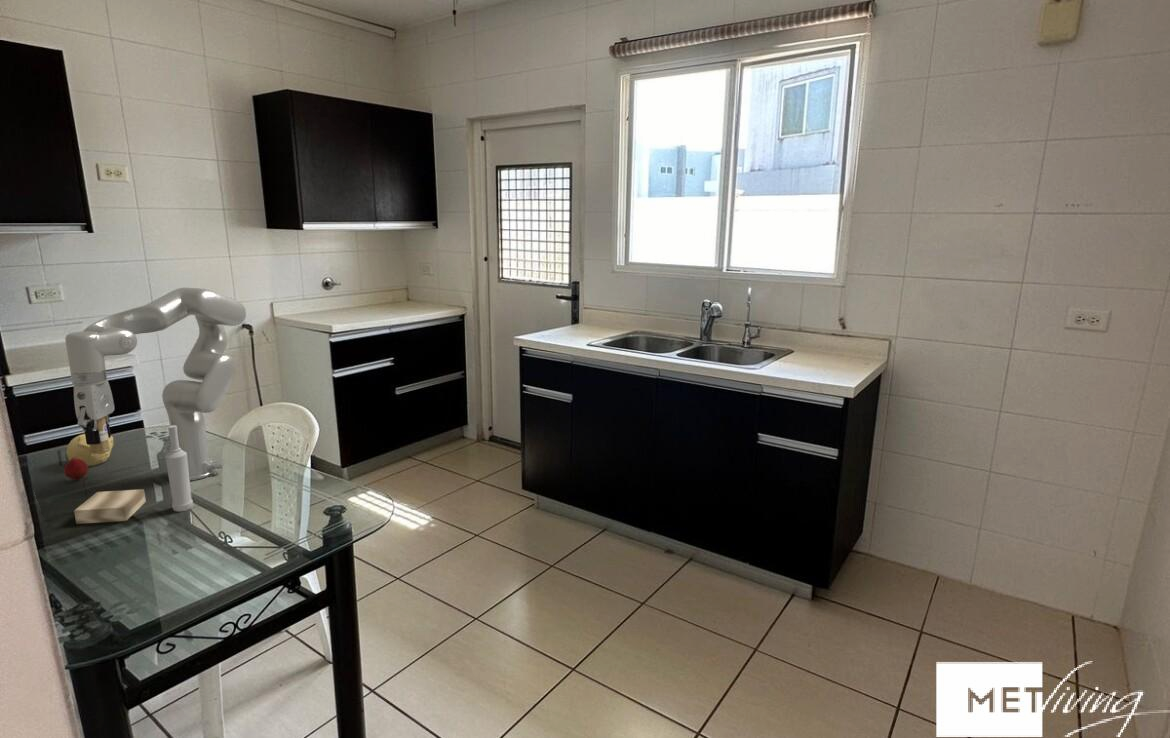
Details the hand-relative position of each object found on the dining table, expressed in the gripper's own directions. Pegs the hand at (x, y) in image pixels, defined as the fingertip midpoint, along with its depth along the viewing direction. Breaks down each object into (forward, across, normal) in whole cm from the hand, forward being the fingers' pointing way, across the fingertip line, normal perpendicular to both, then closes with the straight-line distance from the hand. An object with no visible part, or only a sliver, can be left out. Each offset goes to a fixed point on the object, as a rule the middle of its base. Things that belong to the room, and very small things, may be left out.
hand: (99, 440), depth 172 cm
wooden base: (+21, -1, -1) cm, 22 cm away
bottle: (+22, -1, -19) cm, 29 cm away
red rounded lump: (+22, +24, +21) cm, 38 cm away
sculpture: (+22, +39, +24) cm, 51 cm away
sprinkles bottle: (+4, 0, 0) cm, 4 cm away
